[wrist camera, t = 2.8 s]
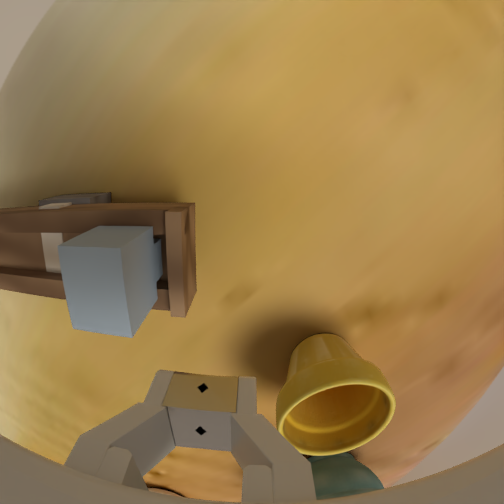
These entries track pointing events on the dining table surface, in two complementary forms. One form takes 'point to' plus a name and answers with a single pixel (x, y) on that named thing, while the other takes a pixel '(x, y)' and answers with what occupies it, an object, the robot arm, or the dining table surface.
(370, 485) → the flower pot
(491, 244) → the dining table surface
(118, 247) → the block
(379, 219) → the dining table surface
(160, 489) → the white vase
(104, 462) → the robot arm
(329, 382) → the plant pot
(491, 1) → the dining table surface
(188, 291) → the beam
